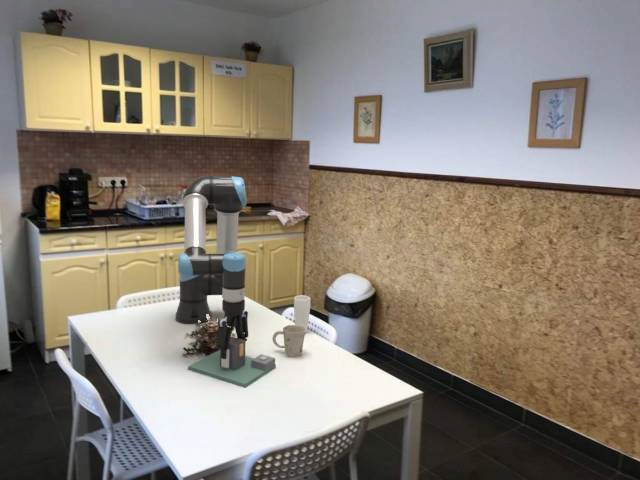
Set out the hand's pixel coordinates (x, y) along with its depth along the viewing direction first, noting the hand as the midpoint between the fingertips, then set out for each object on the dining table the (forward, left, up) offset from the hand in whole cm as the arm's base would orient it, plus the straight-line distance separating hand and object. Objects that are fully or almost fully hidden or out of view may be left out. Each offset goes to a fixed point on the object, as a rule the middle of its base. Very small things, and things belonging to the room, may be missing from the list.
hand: (232, 362), depth 178 cm
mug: (+9, +22, -2) cm, 24 cm away
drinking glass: (+2, +44, -2) cm, 44 cm away
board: (0, 0, -2) cm, 2 cm away
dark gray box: (0, 0, -1) cm, 1 cm away
